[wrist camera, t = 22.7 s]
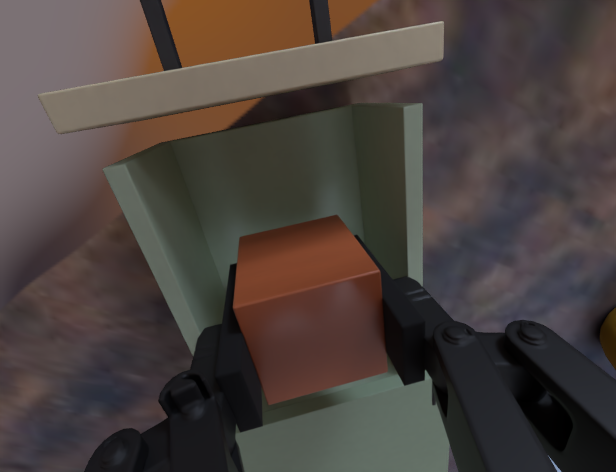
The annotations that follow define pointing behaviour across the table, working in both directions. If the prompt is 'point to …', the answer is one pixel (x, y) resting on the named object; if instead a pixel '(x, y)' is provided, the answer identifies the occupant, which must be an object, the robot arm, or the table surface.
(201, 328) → the drawer
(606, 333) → the apple
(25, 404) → the table surface
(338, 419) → the cabinet
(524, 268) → the table surface
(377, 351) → the block
